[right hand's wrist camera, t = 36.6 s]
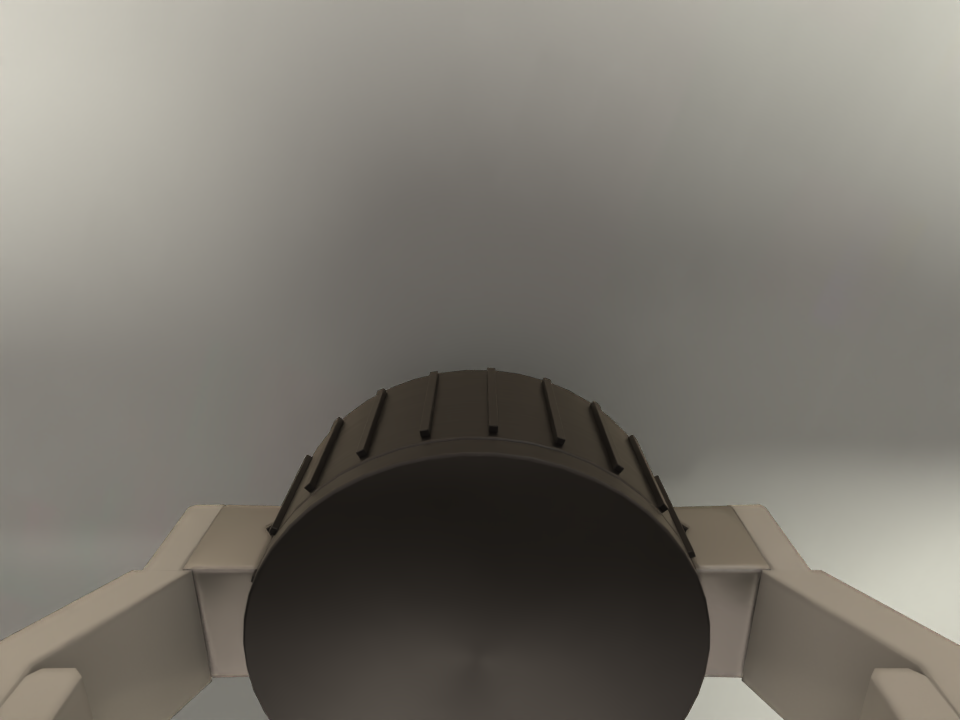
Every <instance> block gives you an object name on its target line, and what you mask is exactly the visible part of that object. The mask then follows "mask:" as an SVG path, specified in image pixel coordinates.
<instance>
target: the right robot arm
mask: <svg viewBox="0 0 960 720" xmlns="http://www.w3.org/2000/svg"><path fill="white" fill-rule="evenodd" d="M280 508H281V506H258V505H227V506H226V505H194V506H191V507H189V508H188V509H187V510H186V511H185V513H184V514H183V516H182V517H181V518H180V520H179V521H178V522H177V524H176V525H175V526H174V528H173V529H172V531H171V532H170V533H169V535H168V536H167V537H166V539H165V540H164V542H163V543H162V544H161V546H160V547H159V548H158V550H157V551H156V553H155V554H154V555H153V557H152V558H151V559H150V561H149V562H148V563H147V565H146V566H145V568H144V569H143V570H132V571H130V572H128V573H126V574H124V575H123V576H121V577H119V578H117V579H115V580H113V581H111V582H109V583H108V584H106V585H104V586H102V587H100V588H98V589H96V590H95V591H93V592H91V593H89V594H87V595H85V596H83V597H81V598H80V599H78V600H76V601H74V602H72V603H70V604H68V605H67V606H65V607H63V608H61V609H59V610H57V611H55V612H53V613H52V614H50V615H48V616H46V617H44V618H42V619H40V620H39V621H37V622H35V623H33V624H31V625H29V626H27V627H25V628H24V629H22V630H20V631H18V632H16V633H14V634H12V635H11V636H9V637H7V638H5V639H3V640H1V641H0V720H170V719H171V718H172V717H173V716H174V715H175V714H176V713H178V712H179V711H180V710H181V709H182V708H183V707H184V706H185V705H186V704H187V703H188V702H190V701H191V700H192V699H193V698H194V697H195V696H196V695H197V694H198V693H199V692H200V691H201V690H203V689H204V688H205V687H206V686H207V685H208V684H209V683H210V682H211V681H212V678H213V677H248V676H249V674H248V671H247V667H246V660H245V654H244V647H243V619H244V613H245V608H246V603H247V598H248V593H249V591H250V588H251V585H252V582H251V578H252V575H253V572H254V571H255V570H258V567H259V565H260V563H261V561H262V559H263V557H264V555H265V553H266V551H267V549H268V547H269V544H270V542H271V540H272V537H271V535H272V534H270V533H269V530H270V528H271V526H272V524H273V522H274V520H275V518H276V516H277V514H278V512H279V510H280ZM673 508H674V510H675V512H676V514H677V516H678V518H679V521H680V523H681V525H682V527H683V529H684V531H685V533H686V535H687V537H688V539H689V541H690V544H691V546H692V548H693V550H694V552H695V555H696V557H694V558H691V561H692V563H693V565H694V567H695V570H696V572H697V574H698V577H699V580H700V582H701V585H702V588H703V591H704V594H705V597H706V601H707V607H708V613H709V619H710V651H709V657H708V663H707V668H706V673H705V677H741V678H742V681H743V682H744V683H745V684H746V685H747V686H748V687H749V688H751V689H752V690H753V691H754V692H755V693H756V694H757V695H758V696H759V697H760V698H761V699H762V700H763V701H765V702H766V703H767V704H768V705H769V706H770V707H771V708H772V709H773V710H774V711H775V712H776V713H777V714H778V715H780V716H781V717H782V718H783V719H784V720H960V645H958V644H956V643H954V642H953V641H951V640H949V639H947V638H945V637H943V636H941V635H940V634H938V633H936V632H934V631H932V630H930V629H929V628H927V627H925V626H923V625H921V624H919V623H918V622H916V621H914V620H912V619H910V618H908V617H906V616H905V615H903V614H901V613H899V612H897V611H895V610H894V609H892V608H890V607H888V606H886V605H884V604H882V603H881V602H879V601H877V600H875V599H873V598H871V597H870V596H868V595H866V594H864V593H862V592H860V591H859V590H857V589H855V588H853V587H851V586H849V585H847V584H846V583H844V582H842V581H840V580H838V579H836V578H835V577H833V576H831V575H829V574H827V573H825V572H823V571H822V570H810V568H809V567H808V566H807V564H806V563H805V561H804V560H803V559H802V557H801V556H800V554H799V553H798V552H797V550H796V549H795V548H794V546H793V545H792V543H791V542H790V541H789V539H788V538H787V536H786V535H785V534H784V532H783V531H782V530H781V528H780V527H779V525H778V524H777V523H776V521H775V520H774V518H773V517H772V516H771V514H770V513H769V511H768V510H767V509H766V508H765V507H764V506H762V505H760V504H752V505H727V506H694V507H673Z"/></svg>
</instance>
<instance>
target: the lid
mask: <svg viewBox="0 0 960 720" xmlns="http://www.w3.org/2000/svg"><path fill="white" fill-rule="evenodd" d="M269 533H270V534H272V535H271V537H272V540H271V542H270V544H269V547H268V549H267V551H266V553H265V555H264V557H263V559H262V561H261V563H260V565H259V567H258V570H255V571H254V572H253V575H252V578H251V582H252V585H251V588H250V591H249V593H248V598H247V603H246V608H245V613H244V619H243V647H244V654H245V660H246V667H247V671H248V674H249V677H250V680H251V683H252V687H253V690H254V692H255V694H256V696H257V698H258V700H259V702H260V704H261V706H262V708H263V710H264V712H265V714H266V715H267V717H268V718H269V720H685V718H686V717H687V715H688V713H689V711H690V709H691V707H692V706H693V704H694V702H695V700H696V698H697V696H698V694H699V691H700V688H701V685H702V682H703V679H704V676H705V673H706V668H707V663H708V657H709V651H710V619H709V613H708V607H707V601H706V597H705V594H704V591H703V588H702V585H701V582H700V580H699V577H698V574H697V572H696V570H695V567H694V565H693V563H692V561H691V558H694V557H696V555H695V552H694V550H693V548H692V546H691V544H690V541H689V539H688V537H687V535H686V533H685V531H684V529H683V527H682V525H681V523H680V521H679V518H678V516H677V514H676V512H675V510H674V508H673V506H672V504H671V502H670V500H669V497H668V495H667V493H666V491H665V489H664V487H663V485H662V483H661V481H660V479H659V476H655V477H654V476H653V474H652V471H651V469H650V467H649V465H648V463H647V461H646V458H645V456H644V454H643V452H642V450H641V448H640V446H639V443H638V441H637V439H636V438H635V437H634V435H631V436H630V437H628V435H627V434H626V433H625V432H624V431H623V430H622V429H621V428H620V427H619V426H618V425H617V424H616V423H615V422H614V421H613V420H612V419H611V418H610V417H609V416H607V415H606V414H605V413H603V412H602V410H601V408H600V405H599V404H598V403H596V402H595V401H593V402H592V403H590V402H588V401H587V400H585V399H583V398H581V397H580V396H578V395H576V394H574V393H572V392H571V391H569V390H567V389H564V388H562V387H559V386H557V385H554V384H552V383H551V380H550V379H547V378H543V380H540V379H536V378H533V377H529V376H525V375H521V374H516V373H508V372H501V371H495V368H487V370H463V371H454V372H445V373H438V371H435V372H430V376H426V377H421V378H417V379H414V380H411V381H408V382H406V383H403V384H400V385H398V386H395V387H392V388H390V389H388V390H385V389H384V388H383V389H381V390H379V391H378V392H377V394H376V396H375V397H373V398H371V399H369V400H367V401H366V402H365V403H363V404H362V405H360V406H359V407H358V408H356V409H355V410H353V411H352V412H351V413H349V414H348V415H347V416H346V417H345V418H344V419H343V420H342V419H341V418H340V417H338V418H337V419H336V420H335V421H334V423H333V426H332V428H331V430H330V432H329V434H328V435H327V436H326V438H325V439H324V440H323V442H322V443H321V444H320V445H319V447H318V448H317V449H316V451H315V453H314V455H313V456H312V457H311V456H309V455H307V456H306V457H305V459H304V461H303V463H302V465H301V467H300V469H299V471H298V473H297V475H296V477H295V479H294V481H293V483H292V485H291V487H290V489H289V491H288V493H287V495H286V497H285V499H284V501H283V504H282V506H281V508H280V510H279V512H278V514H277V516H276V518H275V520H274V522H273V524H272V526H271V528H270V530H269Z"/></svg>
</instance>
